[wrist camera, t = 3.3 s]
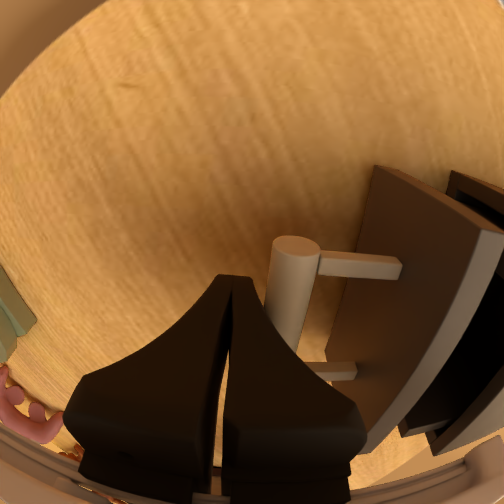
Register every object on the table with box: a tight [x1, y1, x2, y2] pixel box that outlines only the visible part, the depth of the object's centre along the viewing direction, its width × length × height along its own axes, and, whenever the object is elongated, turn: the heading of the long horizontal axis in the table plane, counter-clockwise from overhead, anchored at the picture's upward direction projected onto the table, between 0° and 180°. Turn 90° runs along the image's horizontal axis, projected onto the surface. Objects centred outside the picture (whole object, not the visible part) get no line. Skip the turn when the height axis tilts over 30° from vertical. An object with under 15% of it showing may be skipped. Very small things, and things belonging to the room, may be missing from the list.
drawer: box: [264, 165, 504, 455], centre depth 10 cm, size 16×10×7 cm, turn 85°
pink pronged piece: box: [0, 366, 63, 445], centre depth 20 cm, size 10×5×7 cm, turn 42°
